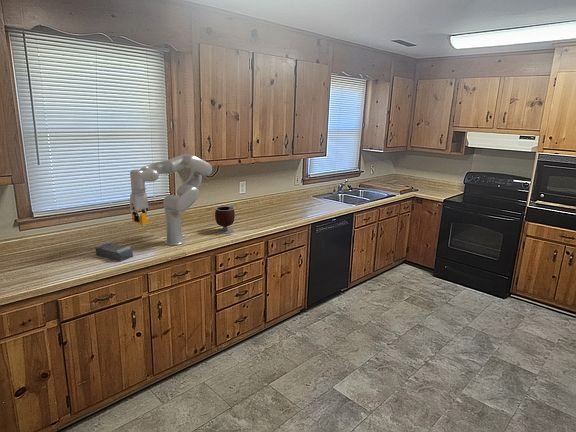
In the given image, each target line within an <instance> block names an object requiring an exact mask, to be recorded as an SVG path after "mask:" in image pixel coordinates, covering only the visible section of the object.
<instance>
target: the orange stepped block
mask: <svg viewBox="0 0 576 432" xmlns="http://www.w3.org/2000/svg"><path fill="white" fill-rule="evenodd" d="M135 213H136V212H135ZM141 213H142V212H141ZM141 213H140V214H138V216H139V222H135V221H134V215H133V214H132V213H131V221H132V222H133V223H137V224H139V225H142V226H145V225H148V224H150V217H147V213H146V214H145V213H142V214H141Z"/></svg>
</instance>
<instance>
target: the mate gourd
mask: <svg viewBox="0 0 576 432" xmlns="http://www.w3.org/2000/svg"><path fill="white" fill-rule="evenodd" d="M235 205H237V203H234V204H232V205H229V206H227V205H223V206H217V207H215V210H214V211H215V212H214V218H215V223H216V224H217V225H218V226H220V227H221V228H218V229H217V230H216V233H217V234H221V235H230V234H233V233H234V231H235V229H233V228H229V227H230V226H232V225H233V223H234V222H235V216H236V214H235V213H236V212H235V208H234V207H235Z"/></svg>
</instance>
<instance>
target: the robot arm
mask: <svg viewBox="0 0 576 432" xmlns="http://www.w3.org/2000/svg"><path fill="white" fill-rule="evenodd" d="M184 169H190V175H189V177H188V178H187V179H186V180H185V181H184V182H183V183H182V184H181V185H180V186H178V188H177V190H176V194H177V195H176V194H167V195H166V196H165V197H164V198H163V202H162V203H163V204H162V205H163V208H164V215H165V232H166V239H165V240H164V241H163V242H164V245H167V246H173V247H174V246H179V245H183V244H184V243H185V237H186V236H187V233H184V234H182V231H183V230H182V216H181V213H183V212H186V211H187V209H189V208H190V207H191V206H193V204H194V203H195V202H196V201H197V200H198V198H199V195H200V190H199V187H200V186H201V185H202V182H203V181H202V178H203V177H202V176H205V177H207V176H210V175H211V174H212V172H213V167H212V165H211V163H209V162H208V161H205V160H204V159H201V158H200V157H198V156H196V155H194V154H186V153H184V154H180V155H177V156H175V157H173V158H170V159H167V160H163V161H158V162H152V163H150V164H147V165H144V166H142V167H141V168H140V169H132V170H130V172H129V176H130V187H131V189H130V190H131V193H130V196H129V213H131V215H132V214H133V215H134V221H135V222H134V221H133V222H134V223H136V222H139V217H140V215H139V211H141V213H140V214H142V213H145V214H146V215H147V212H148V210H149V209H150V205H149V203H148V202H149V201H148V195H147V192H146V190H147V188H146V185H145V182H149V183H150V182H151V183H152V182H156V181H157V180H158V179H159V176H160V175H162V174H163V175H165V174H167V175H169V174H170V175H171V174H174V173H177V172H179V171H181V170H184ZM135 212H136V213H135ZM138 215H139V216H138Z"/></svg>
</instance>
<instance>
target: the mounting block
mask: <svg viewBox="0 0 576 432" xmlns="http://www.w3.org/2000/svg"><path fill="white" fill-rule="evenodd" d="M94 250H95V255H96V256H97V257H101V258H106V259H109V260H112V261H116V262H119V263H121V262H124V261H125V260H129V259H131V258H134V253H133V248H131V246H130V245H128V246H122V245H119V244H114V243H112V241H107V242H105V243H101V244H98V245H97V246H95V249H94Z"/></svg>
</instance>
